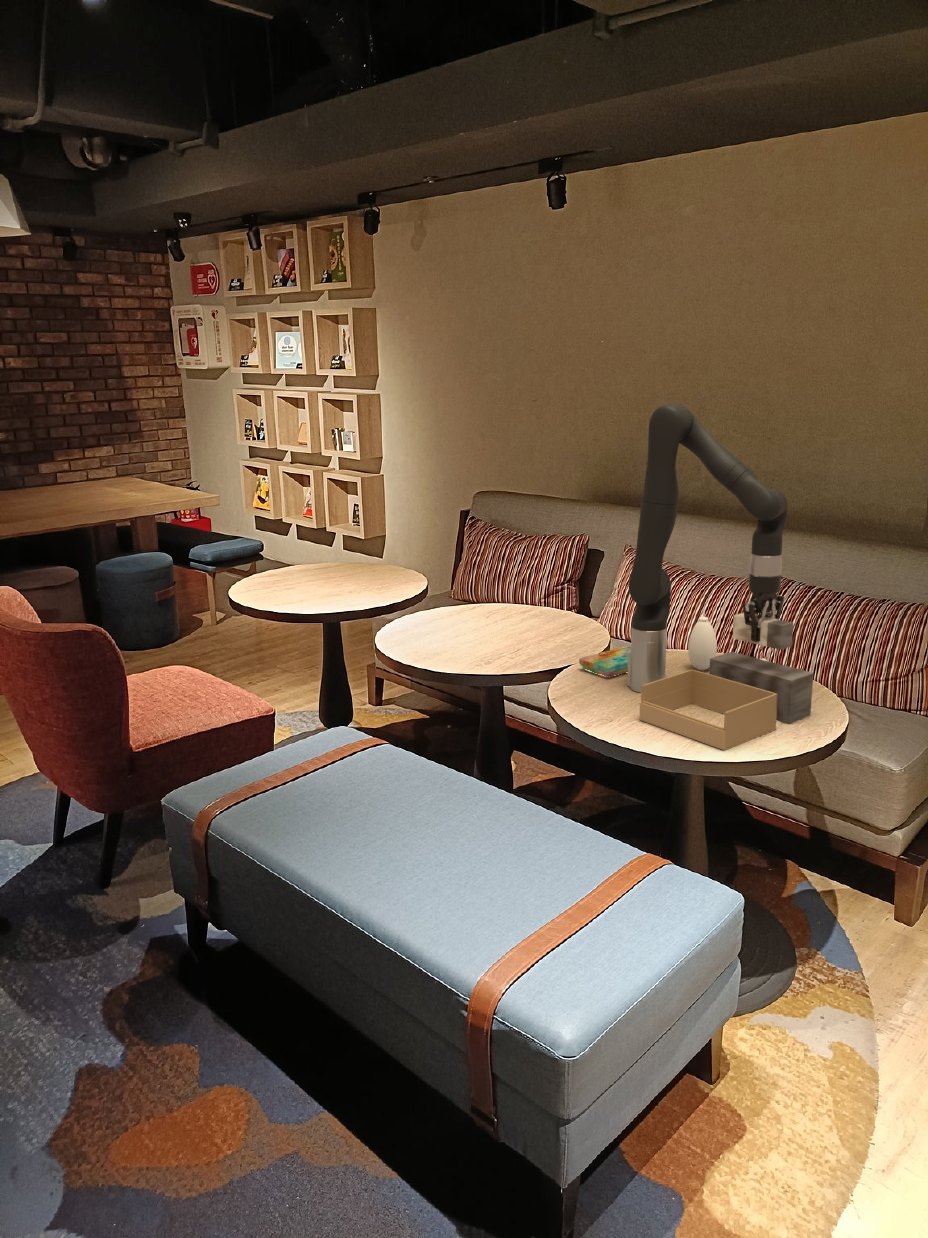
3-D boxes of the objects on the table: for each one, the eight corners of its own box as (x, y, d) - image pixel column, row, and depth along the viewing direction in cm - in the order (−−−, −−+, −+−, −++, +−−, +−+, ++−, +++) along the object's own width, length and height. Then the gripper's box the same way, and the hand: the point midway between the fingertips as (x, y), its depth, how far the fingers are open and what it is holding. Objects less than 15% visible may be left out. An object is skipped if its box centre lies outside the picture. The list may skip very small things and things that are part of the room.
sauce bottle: (683, 671, 264) (685, 609, 259) (693, 663, 270) (695, 604, 266) (709, 675, 260) (712, 613, 255) (719, 667, 266) (722, 607, 261)
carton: (639, 720, 227) (640, 685, 225) (691, 702, 239) (692, 669, 236) (723, 750, 208) (725, 713, 206) (775, 729, 219) (778, 693, 217)
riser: (708, 698, 241) (709, 658, 238) (729, 691, 246) (731, 651, 243) (788, 724, 222) (791, 680, 220) (810, 715, 228) (813, 673, 225)
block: (732, 638, 234) (733, 615, 233) (743, 635, 237) (744, 612, 235) (780, 649, 223) (782, 625, 222) (791, 646, 226) (793, 622, 224)
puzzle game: (579, 656, 266) (627, 643, 277) (579, 671, 267) (627, 658, 278) (608, 665, 257) (657, 651, 268) (608, 681, 258) (656, 667, 269)
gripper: (769, 565, 233) (766, 631, 237) (734, 574, 224) (731, 641, 229) (796, 570, 227) (791, 637, 231) (760, 578, 218) (756, 648, 223)
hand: (761, 638), depth 230 cm, fingers closed on block, 4 cm apart
